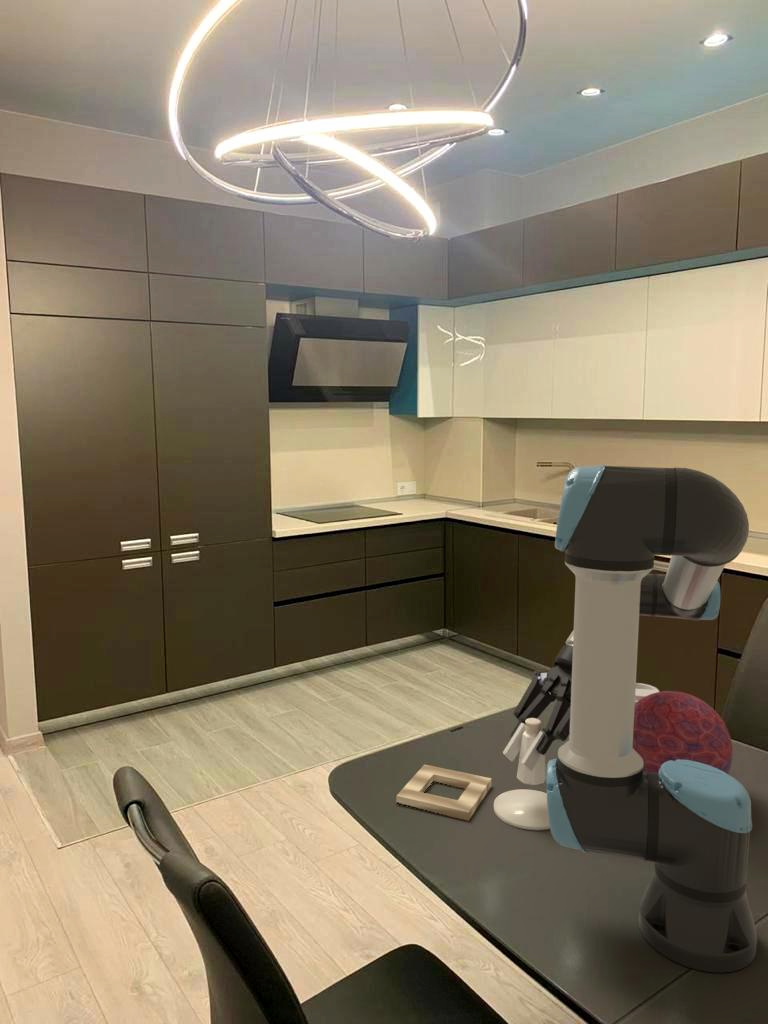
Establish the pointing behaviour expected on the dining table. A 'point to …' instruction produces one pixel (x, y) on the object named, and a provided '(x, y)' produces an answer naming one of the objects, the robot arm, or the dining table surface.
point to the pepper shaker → (527, 739)
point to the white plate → (523, 809)
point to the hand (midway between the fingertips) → (516, 761)
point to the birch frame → (458, 808)
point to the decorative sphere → (680, 731)
